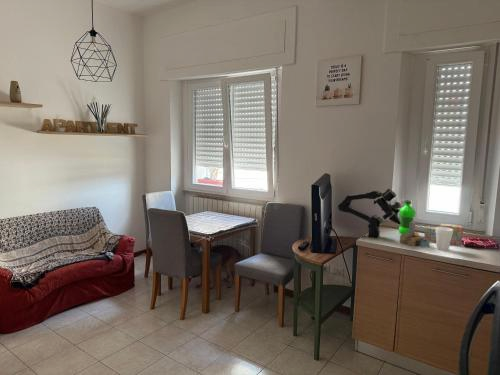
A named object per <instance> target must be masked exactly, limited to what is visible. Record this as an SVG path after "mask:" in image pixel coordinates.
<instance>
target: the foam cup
mask: <svg viewBox="0 0 500 375" xmlns="http://www.w3.org/2000/svg"><path fill="white" fill-rule="evenodd" d="M435 227H436V226H435ZM435 232H436V249H437V250H438V251H442V252H443V251H444V252H446V251H449V249H450V246H451V244H450V241H451V237H452V234H453V229H451V228H446V227H440V226H437V227H436V230H435Z"/></svg>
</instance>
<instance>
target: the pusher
mask: <svg viewBox="0 0 500 375" xmlns="http://www.w3.org/2000/svg"><path fill="white" fill-rule="evenodd" d="M415 232H416V221H414V220H413V221H412V222H410V223H409V236H410V237H412V236H414V233H415Z"/></svg>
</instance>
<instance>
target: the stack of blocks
mask: <svg viewBox="0 0 500 375" xmlns="http://www.w3.org/2000/svg"><path fill="white" fill-rule="evenodd" d="M439 227H446V228H451V229H453V234H452V237H451V241H450V246H451V245H452V246H460V247H461V246H462V240H463V234H464V233H463V232H464V231H463V230H464V228H463V226H462V225H457V224H453V223H452V224H451V223H450V224H449V223H440V225H439ZM435 230H436V226H427V225H425V226H424V235H423V236H425V238H424V239H425V240H429V241H430V243H436V232H435Z"/></svg>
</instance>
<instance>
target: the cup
mask: <svg viewBox="0 0 500 375" xmlns="http://www.w3.org/2000/svg"><path fill="white" fill-rule="evenodd" d="M430 244H431V242H430V241H429V240H425V239H423V240H422V241H419V244H418V246H419V247H422V248H429V247H430Z"/></svg>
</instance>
